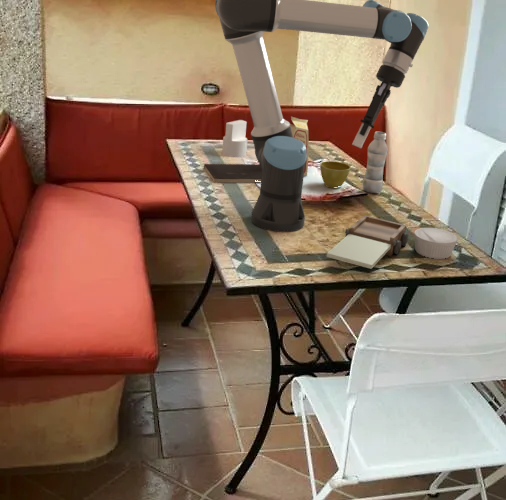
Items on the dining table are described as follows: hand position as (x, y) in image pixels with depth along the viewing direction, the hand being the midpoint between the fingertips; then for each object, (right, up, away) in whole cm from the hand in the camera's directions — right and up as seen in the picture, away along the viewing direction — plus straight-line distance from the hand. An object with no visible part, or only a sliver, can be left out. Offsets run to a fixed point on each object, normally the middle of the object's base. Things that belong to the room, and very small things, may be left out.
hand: (356, 146), depth 199 cm
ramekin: (+19, -30, -11) cm, 37 cm away
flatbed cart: (+4, -28, -9) cm, 29 cm away
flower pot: (-3, -8, +37) cm, 38 cm away
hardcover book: (-33, -5, +39) cm, 52 cm away
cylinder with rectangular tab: (-37, +6, +63) cm, 73 cm away
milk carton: (-16, -3, +47) cm, 50 cm away
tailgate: (+1, -27, -15) cm, 31 cm away
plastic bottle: (+10, -10, +34) cm, 37 cm away
